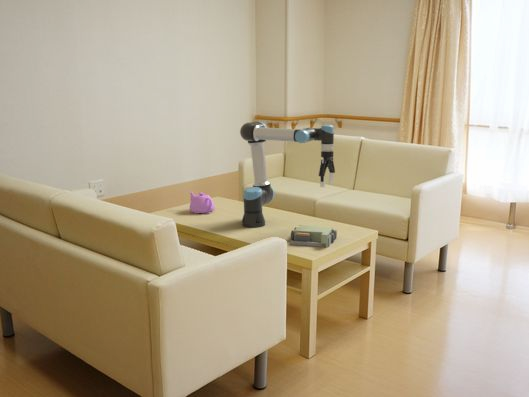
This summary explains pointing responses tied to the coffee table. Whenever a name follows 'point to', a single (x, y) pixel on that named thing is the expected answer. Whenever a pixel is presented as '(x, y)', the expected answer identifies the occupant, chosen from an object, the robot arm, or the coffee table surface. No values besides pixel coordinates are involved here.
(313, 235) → the green wheeled box
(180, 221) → the coffee table surface
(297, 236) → the orange striped grey block
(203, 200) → the teapot
